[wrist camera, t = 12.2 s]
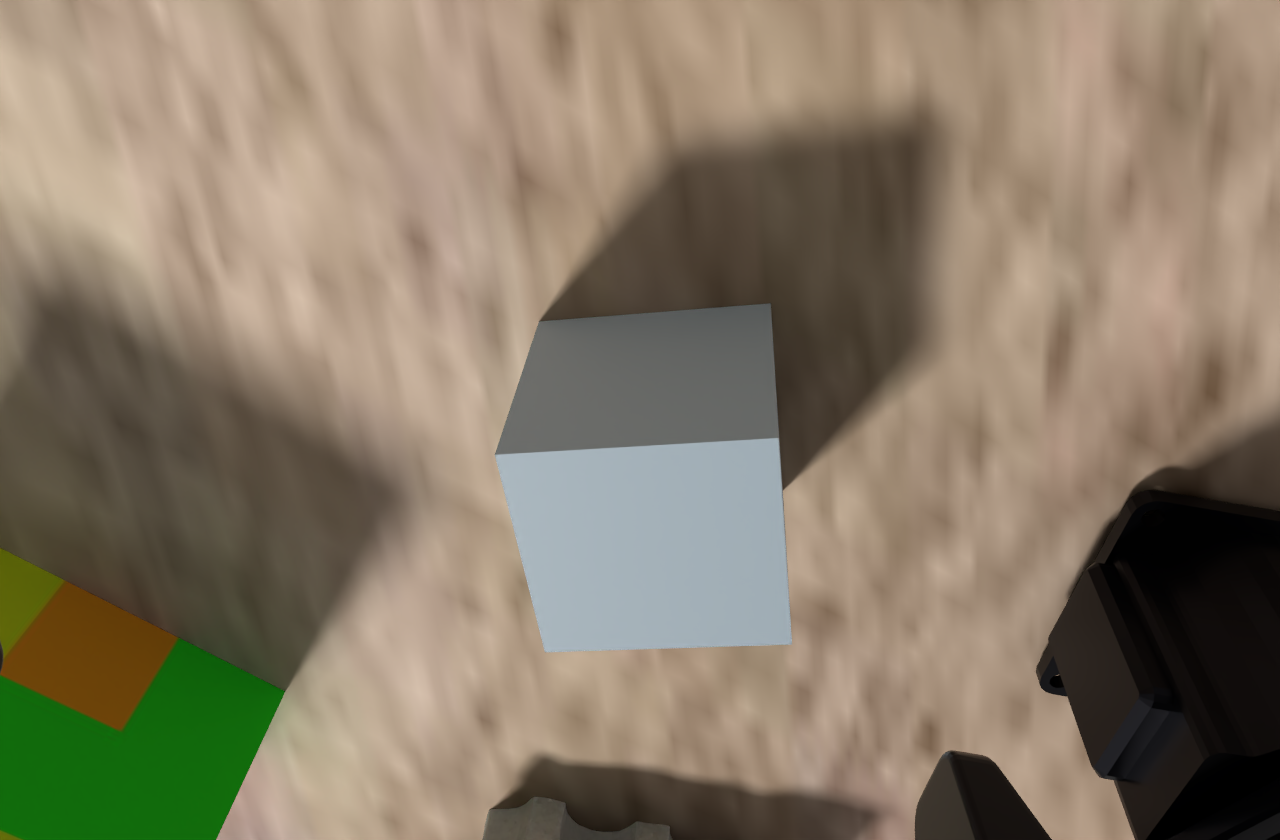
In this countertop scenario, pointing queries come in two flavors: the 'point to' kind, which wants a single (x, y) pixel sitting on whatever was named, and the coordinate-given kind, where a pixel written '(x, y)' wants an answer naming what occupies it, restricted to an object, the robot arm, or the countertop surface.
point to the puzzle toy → (115, 720)
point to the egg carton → (558, 825)
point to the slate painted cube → (650, 481)
